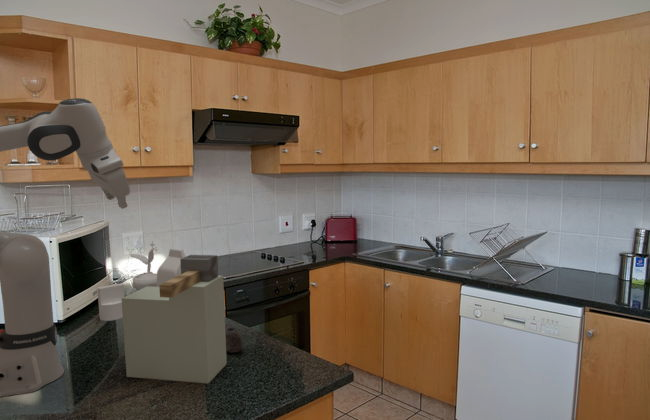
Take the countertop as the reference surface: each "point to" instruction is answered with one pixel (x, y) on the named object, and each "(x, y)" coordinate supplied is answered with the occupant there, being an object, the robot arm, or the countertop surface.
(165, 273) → the milk
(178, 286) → the mallet
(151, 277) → the potted plant
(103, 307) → the cylinder with rectangular tab
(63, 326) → the countertop surface
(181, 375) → the block
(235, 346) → the perforated stone tool
